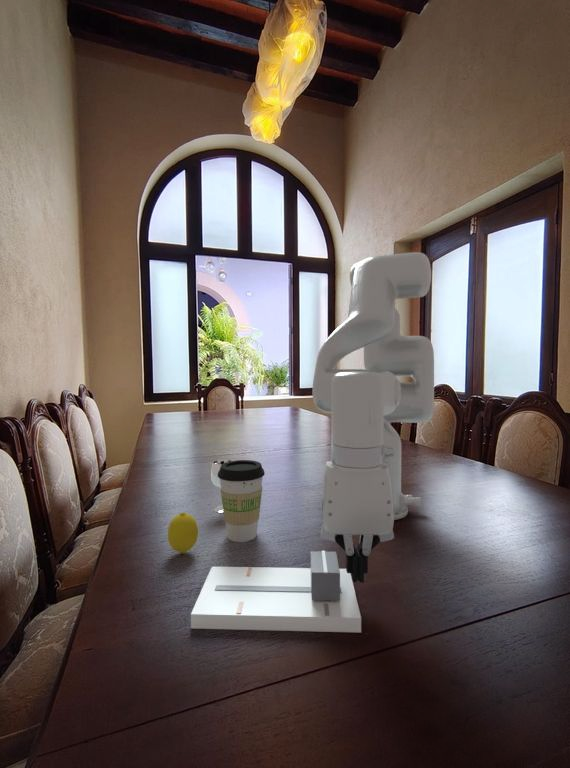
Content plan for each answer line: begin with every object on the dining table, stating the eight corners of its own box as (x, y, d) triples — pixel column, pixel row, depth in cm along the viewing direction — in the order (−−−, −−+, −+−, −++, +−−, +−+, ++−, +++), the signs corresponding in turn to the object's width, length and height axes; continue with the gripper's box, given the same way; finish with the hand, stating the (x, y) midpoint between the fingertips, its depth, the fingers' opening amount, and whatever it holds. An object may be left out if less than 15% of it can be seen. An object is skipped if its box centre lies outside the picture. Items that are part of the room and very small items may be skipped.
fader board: (349, 580, 61) (349, 568, 61) (361, 632, 49) (361, 617, 49) (212, 578, 62) (212, 565, 62) (191, 628, 50) (190, 613, 50)
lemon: (186, 543, 75) (186, 504, 74) (204, 552, 71) (203, 511, 71) (162, 554, 70) (161, 513, 70) (179, 564, 67) (178, 521, 66)
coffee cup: (220, 549, 72) (219, 473, 71) (216, 528, 82) (215, 461, 81) (269, 542, 75) (269, 469, 74) (260, 522, 84) (259, 457, 84)
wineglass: (230, 514, 89) (229, 465, 89) (207, 512, 90) (206, 464, 90) (237, 505, 95) (237, 459, 94) (216, 504, 96) (216, 458, 95)
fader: (335, 576, 58) (335, 550, 58) (340, 600, 52) (340, 572, 52) (310, 575, 59) (310, 550, 58) (311, 600, 52) (311, 571, 52)
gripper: (401, 449, 58) (400, 564, 59) (305, 449, 58) (305, 563, 59) (416, 462, 50) (415, 593, 51) (306, 462, 51) (307, 591, 52)
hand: (356, 576), depth 55 cm, fingers closed
